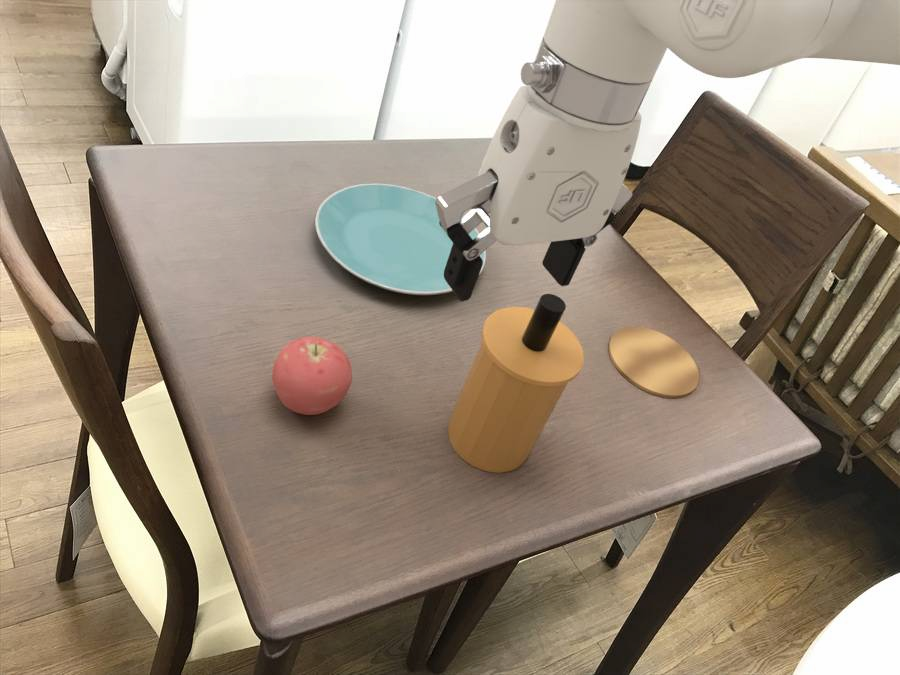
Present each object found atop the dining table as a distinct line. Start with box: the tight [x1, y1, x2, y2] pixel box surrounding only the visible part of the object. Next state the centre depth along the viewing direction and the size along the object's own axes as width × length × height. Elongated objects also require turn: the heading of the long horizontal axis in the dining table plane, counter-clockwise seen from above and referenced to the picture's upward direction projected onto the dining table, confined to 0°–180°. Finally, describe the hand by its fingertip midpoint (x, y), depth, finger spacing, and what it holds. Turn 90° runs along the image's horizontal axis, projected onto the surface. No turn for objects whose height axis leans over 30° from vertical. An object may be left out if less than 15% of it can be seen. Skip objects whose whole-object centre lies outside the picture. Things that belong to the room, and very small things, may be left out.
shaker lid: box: [481, 293, 585, 386], centre depth 69 cm, size 10×10×6 cm
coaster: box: [607, 326, 700, 399], centre depth 96 cm, size 12×12×1 cm
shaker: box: [447, 342, 569, 474], centre depth 75 cm, size 9×9×14 cm
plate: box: [314, 182, 487, 296], centre depth 98 cm, size 22×22×3 cm
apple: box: [271, 336, 353, 416], centre depth 74 cm, size 7×7×8 cm
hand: (506, 281), depth 61 cm, fingers open, 9 cm apart
